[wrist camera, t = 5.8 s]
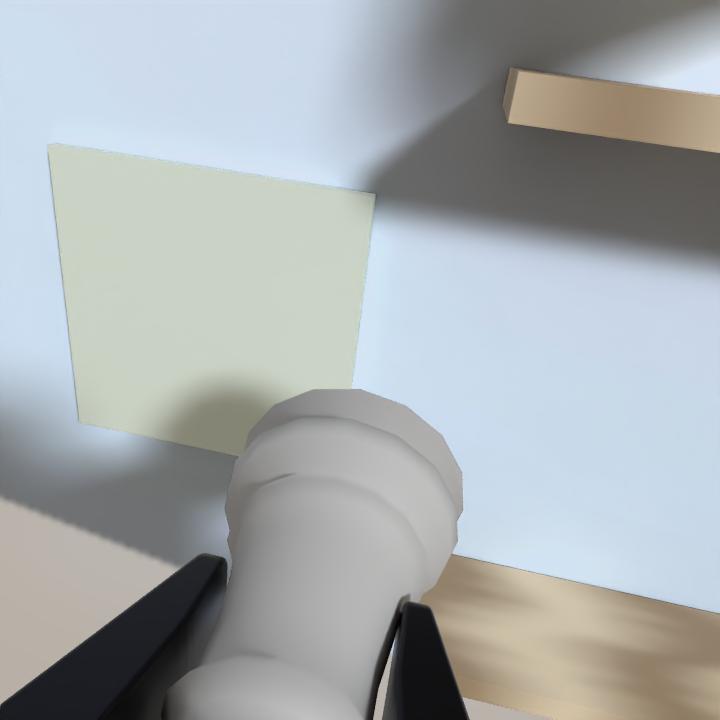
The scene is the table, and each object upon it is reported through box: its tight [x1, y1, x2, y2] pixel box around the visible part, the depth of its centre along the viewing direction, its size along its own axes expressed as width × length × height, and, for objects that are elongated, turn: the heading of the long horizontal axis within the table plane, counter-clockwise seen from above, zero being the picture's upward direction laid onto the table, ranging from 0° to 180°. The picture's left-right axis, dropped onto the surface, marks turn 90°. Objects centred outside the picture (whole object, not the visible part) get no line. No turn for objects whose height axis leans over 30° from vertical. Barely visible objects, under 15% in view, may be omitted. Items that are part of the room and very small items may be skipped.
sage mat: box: [48, 143, 376, 457], centre depth 18 cm, size 9×9×1 cm
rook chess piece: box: [161, 389, 463, 720], centre depth 9 cm, size 4×4×8 cm
